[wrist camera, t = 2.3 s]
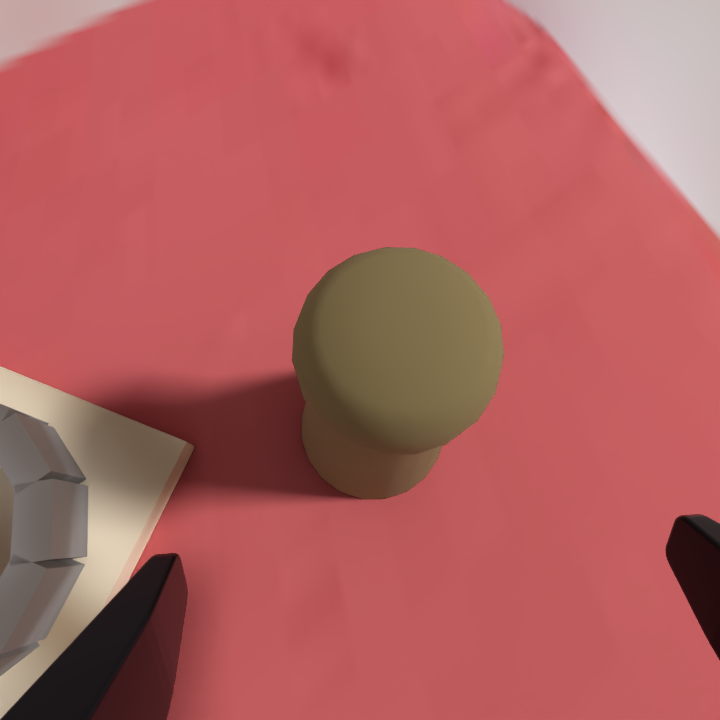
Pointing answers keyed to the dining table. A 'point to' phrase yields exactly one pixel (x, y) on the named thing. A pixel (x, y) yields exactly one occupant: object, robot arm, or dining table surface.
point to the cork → (392, 367)
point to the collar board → (115, 502)
